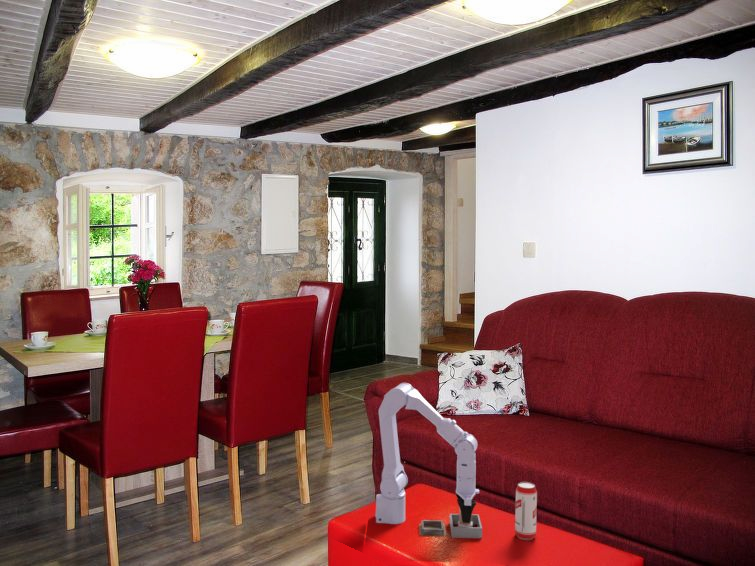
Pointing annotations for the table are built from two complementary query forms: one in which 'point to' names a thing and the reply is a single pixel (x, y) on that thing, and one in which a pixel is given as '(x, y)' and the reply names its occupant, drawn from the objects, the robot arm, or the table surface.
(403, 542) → the table surface
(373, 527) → the table surface
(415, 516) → the table surface
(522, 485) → the beer can
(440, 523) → the square framed plate
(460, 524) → the peach cylinder
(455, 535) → the bin
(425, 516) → the table surface
